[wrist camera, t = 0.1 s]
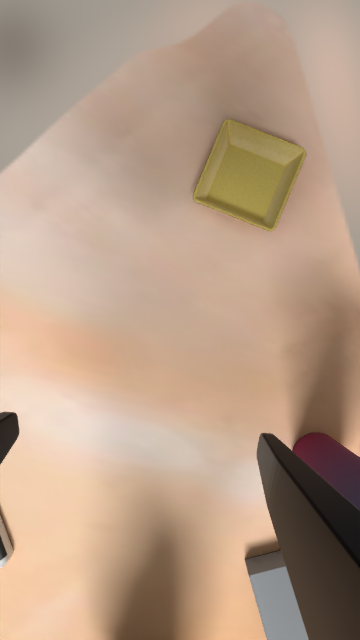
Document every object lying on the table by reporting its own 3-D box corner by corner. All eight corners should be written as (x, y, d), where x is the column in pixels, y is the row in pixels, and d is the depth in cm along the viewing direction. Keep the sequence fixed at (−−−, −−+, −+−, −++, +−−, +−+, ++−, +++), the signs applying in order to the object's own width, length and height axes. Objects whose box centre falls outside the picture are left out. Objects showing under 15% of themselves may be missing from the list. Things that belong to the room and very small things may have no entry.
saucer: (190, 209, 24) (190, 198, 22) (221, 133, 24) (225, 115, 22) (265, 240, 24) (273, 232, 22) (297, 164, 24) (309, 149, 22)
